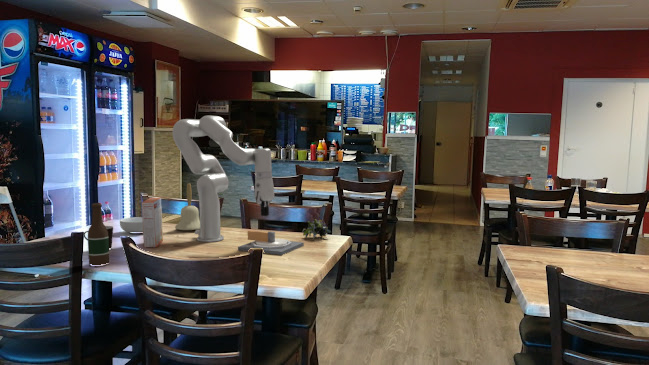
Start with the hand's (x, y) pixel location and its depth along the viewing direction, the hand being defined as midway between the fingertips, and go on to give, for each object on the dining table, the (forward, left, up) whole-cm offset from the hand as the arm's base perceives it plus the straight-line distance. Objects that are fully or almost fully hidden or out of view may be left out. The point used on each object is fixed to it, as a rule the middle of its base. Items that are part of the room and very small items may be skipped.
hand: (264, 215), depth 229 cm
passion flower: (+15, +22, -14) cm, 30 cm away
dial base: (+6, -5, -14) cm, 16 cm away
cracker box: (-47, -22, -14) cm, 53 cm away
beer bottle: (-40, -58, -14) cm, 72 cm away
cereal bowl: (-75, -4, -14) cm, 76 cm away
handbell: (-55, +13, -14) cm, 58 cm away
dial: (+4, -5, -12) cm, 13 cm away
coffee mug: (-60, -40, -14) cm, 73 cm away
